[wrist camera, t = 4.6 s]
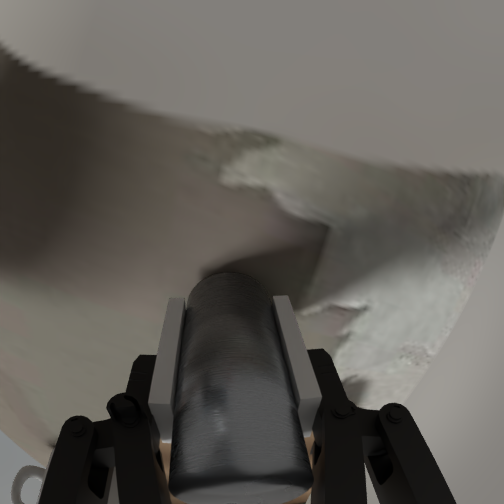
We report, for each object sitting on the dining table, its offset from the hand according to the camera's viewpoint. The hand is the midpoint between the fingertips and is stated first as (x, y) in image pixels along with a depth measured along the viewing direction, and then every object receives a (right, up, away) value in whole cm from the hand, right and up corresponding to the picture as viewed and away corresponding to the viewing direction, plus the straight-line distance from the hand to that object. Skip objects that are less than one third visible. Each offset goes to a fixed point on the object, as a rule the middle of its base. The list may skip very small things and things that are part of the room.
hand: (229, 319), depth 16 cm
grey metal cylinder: (0, 0, +1) cm, 1 cm away
